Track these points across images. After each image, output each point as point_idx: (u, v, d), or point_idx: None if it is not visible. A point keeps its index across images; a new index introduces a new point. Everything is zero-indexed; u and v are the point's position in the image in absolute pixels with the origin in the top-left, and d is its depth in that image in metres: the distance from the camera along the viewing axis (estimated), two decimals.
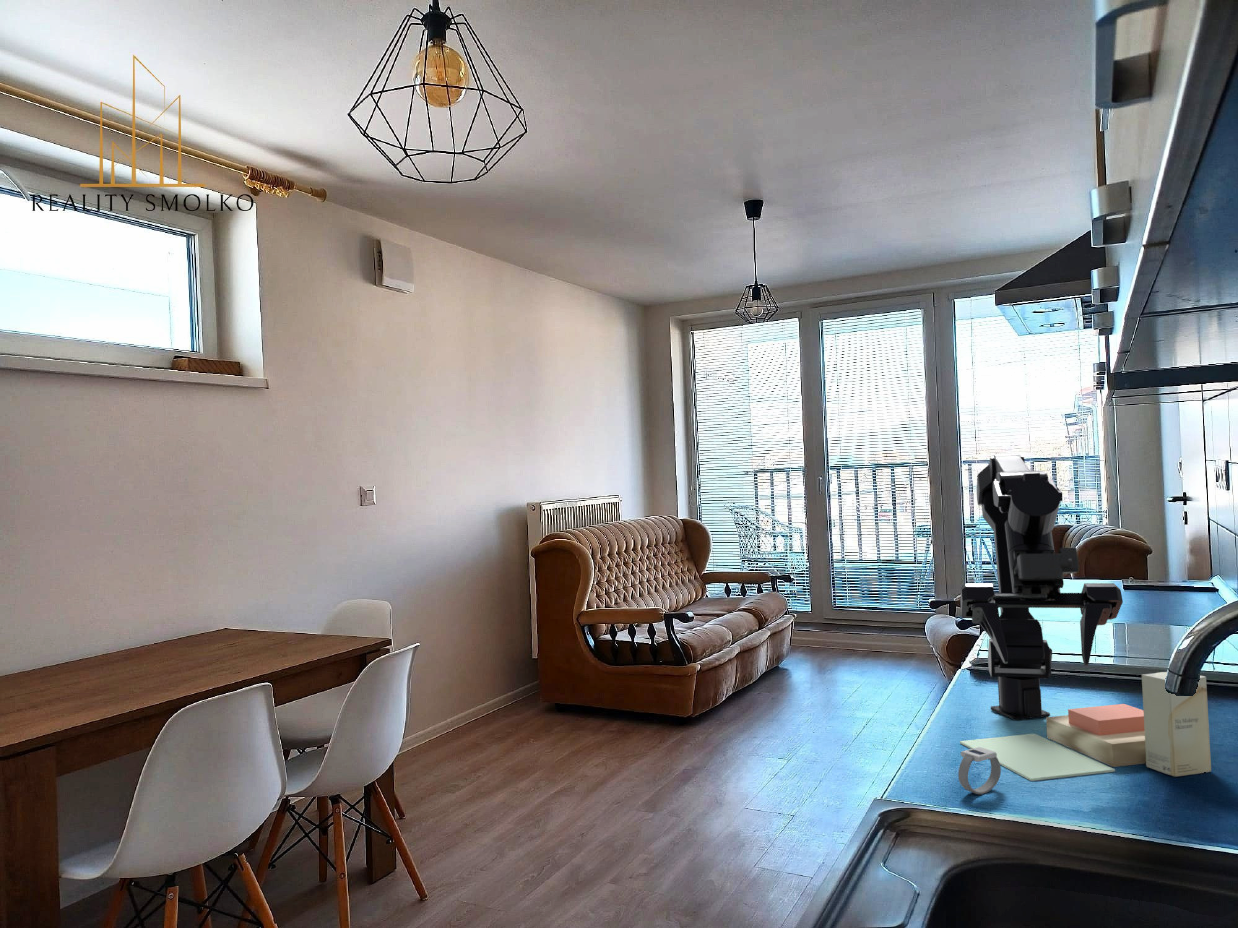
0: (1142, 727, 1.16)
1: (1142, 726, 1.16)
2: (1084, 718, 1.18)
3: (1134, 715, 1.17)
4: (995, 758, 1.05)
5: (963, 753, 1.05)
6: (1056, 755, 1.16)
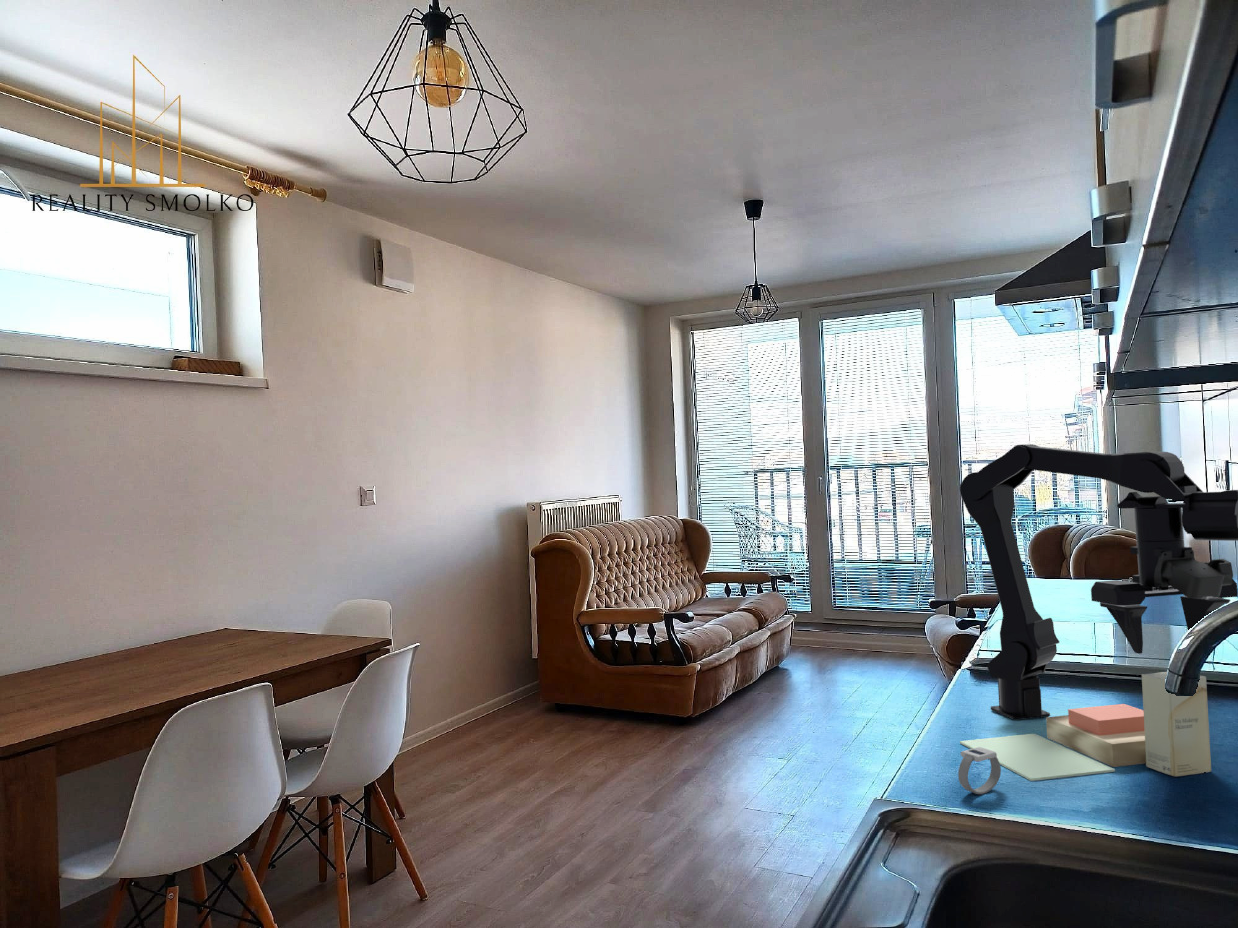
0: (1142, 727, 1.16)
1: (1142, 726, 1.16)
2: (1084, 718, 1.18)
3: (1134, 715, 1.17)
4: (995, 758, 1.05)
5: (963, 753, 1.05)
6: (1056, 755, 1.16)
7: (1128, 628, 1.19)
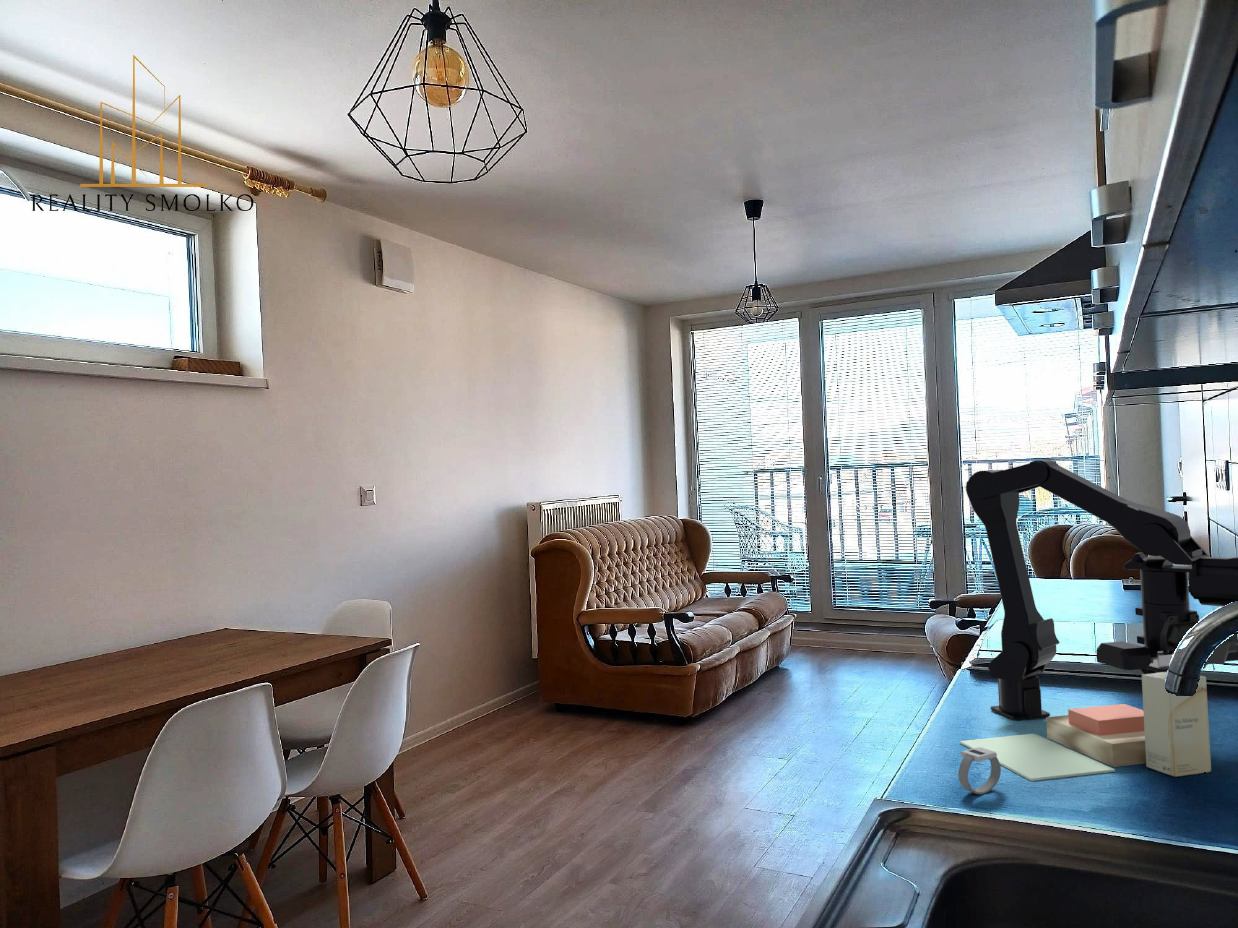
0: (1142, 727, 1.16)
1: (1142, 726, 1.16)
2: (1084, 718, 1.18)
3: (1134, 715, 1.17)
4: (995, 758, 1.05)
5: (963, 753, 1.05)
6: (1056, 755, 1.16)
7: None
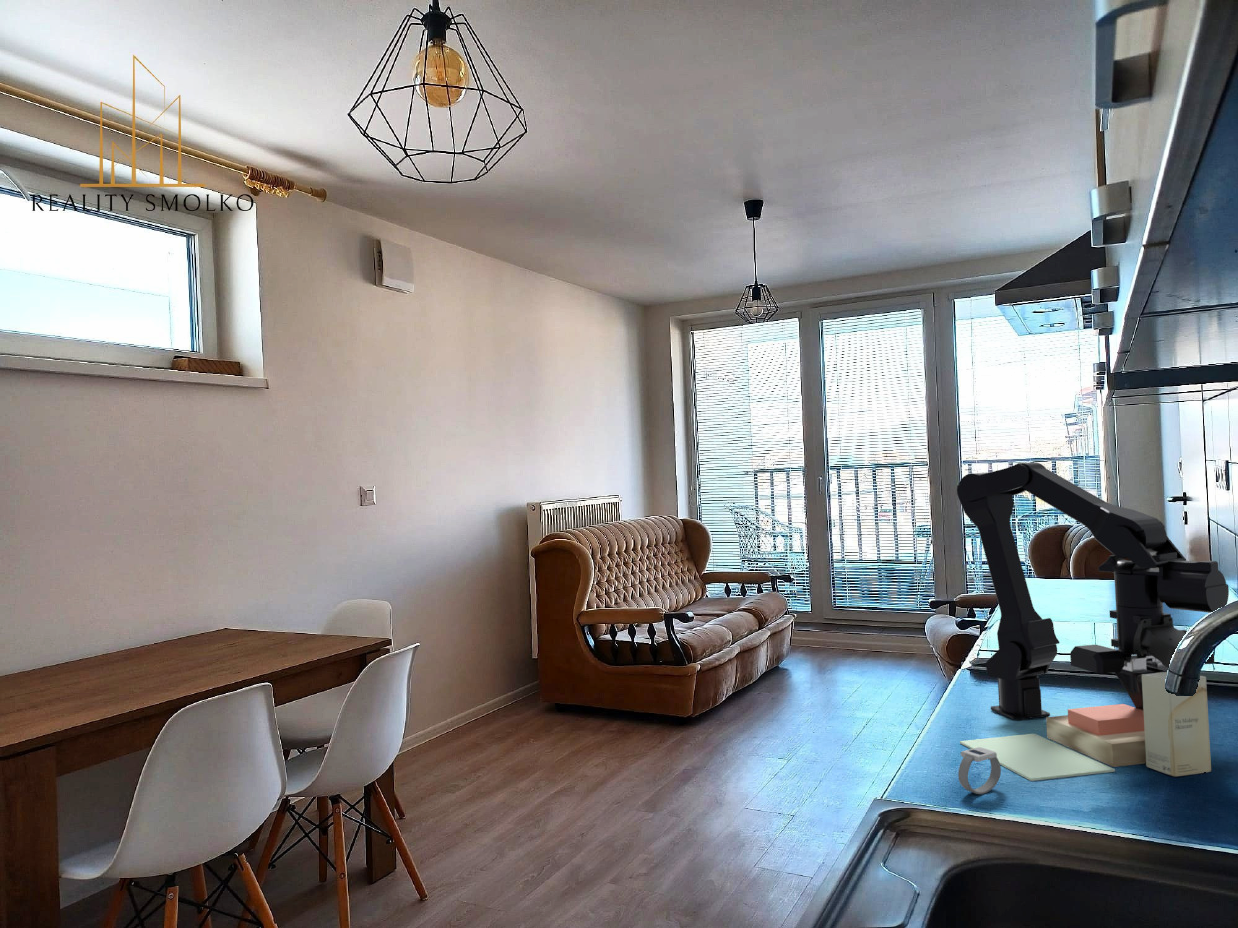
0: (1142, 727, 1.16)
1: (1142, 726, 1.16)
2: (1083, 718, 1.18)
3: (1134, 715, 1.17)
4: (995, 758, 1.05)
5: (963, 753, 1.05)
6: (1056, 755, 1.16)
7: (1134, 691, 1.19)
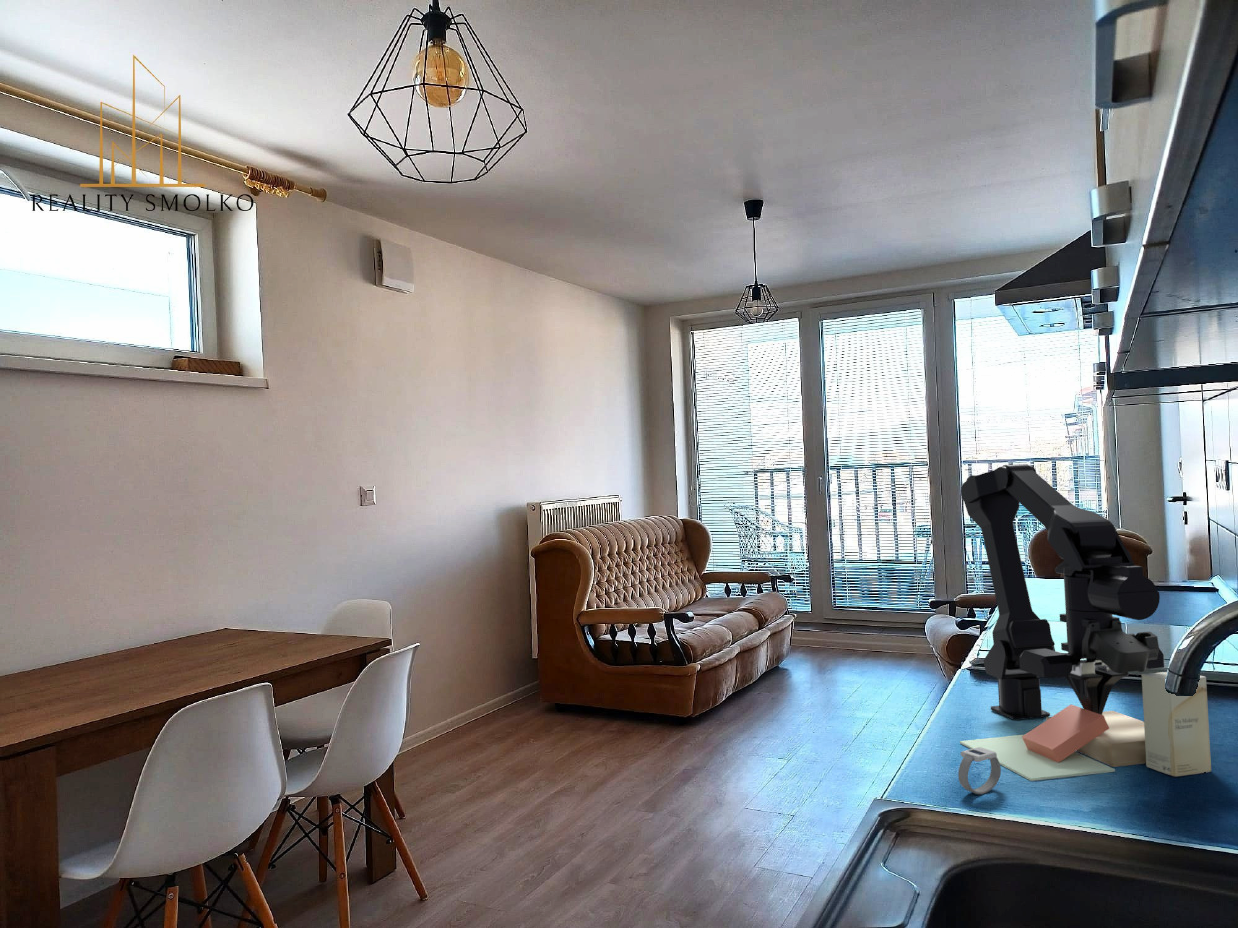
0: (1094, 734, 1.14)
1: (1094, 733, 1.14)
2: (1039, 746, 1.15)
3: (1083, 724, 1.15)
4: (995, 758, 1.05)
5: (963, 753, 1.05)
6: None
7: (1083, 696, 1.18)
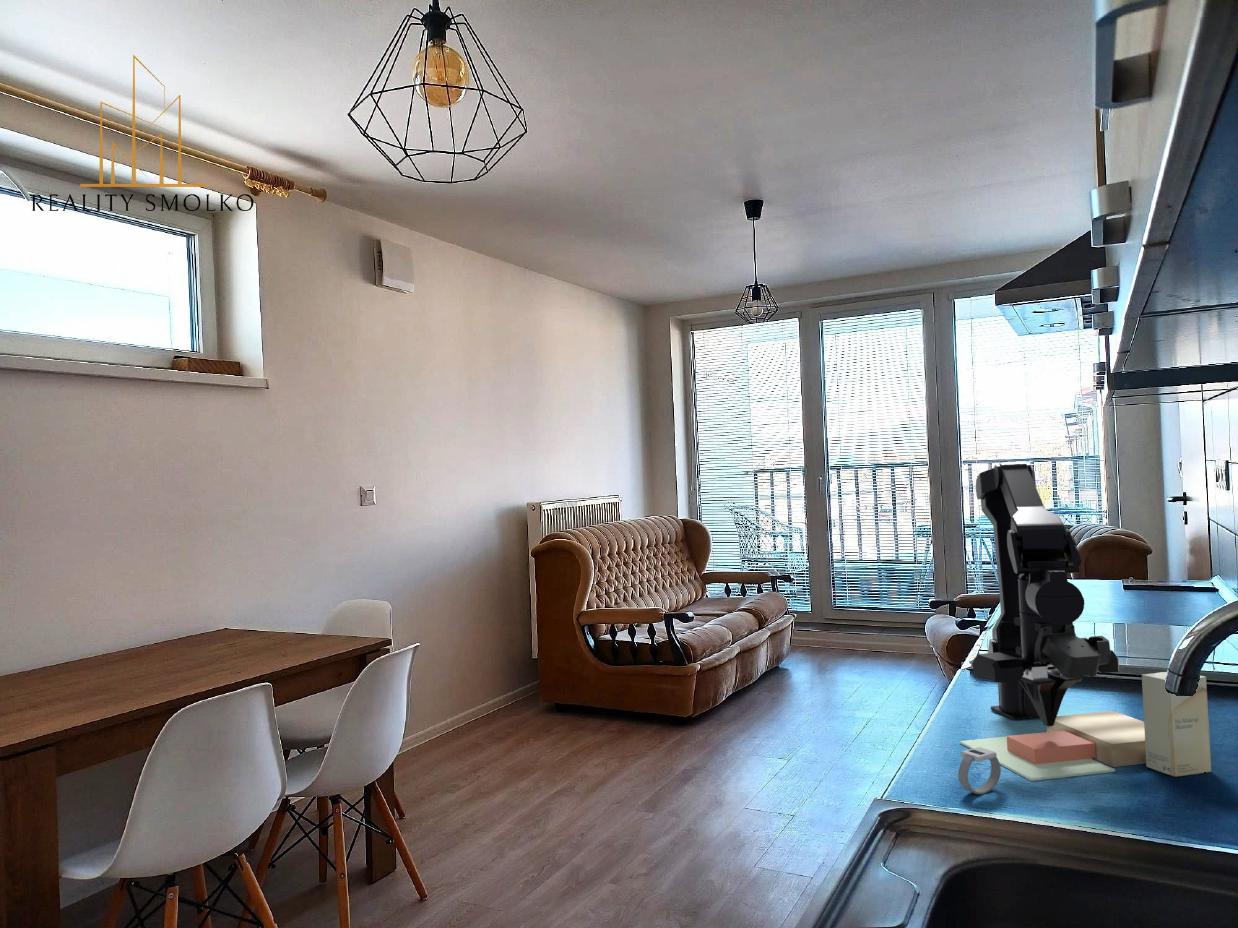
0: (1079, 755, 1.14)
1: (1079, 754, 1.14)
2: (1021, 746, 1.15)
3: (1072, 743, 1.14)
4: (995, 758, 1.05)
5: (963, 753, 1.05)
6: None
7: (1037, 700, 1.17)
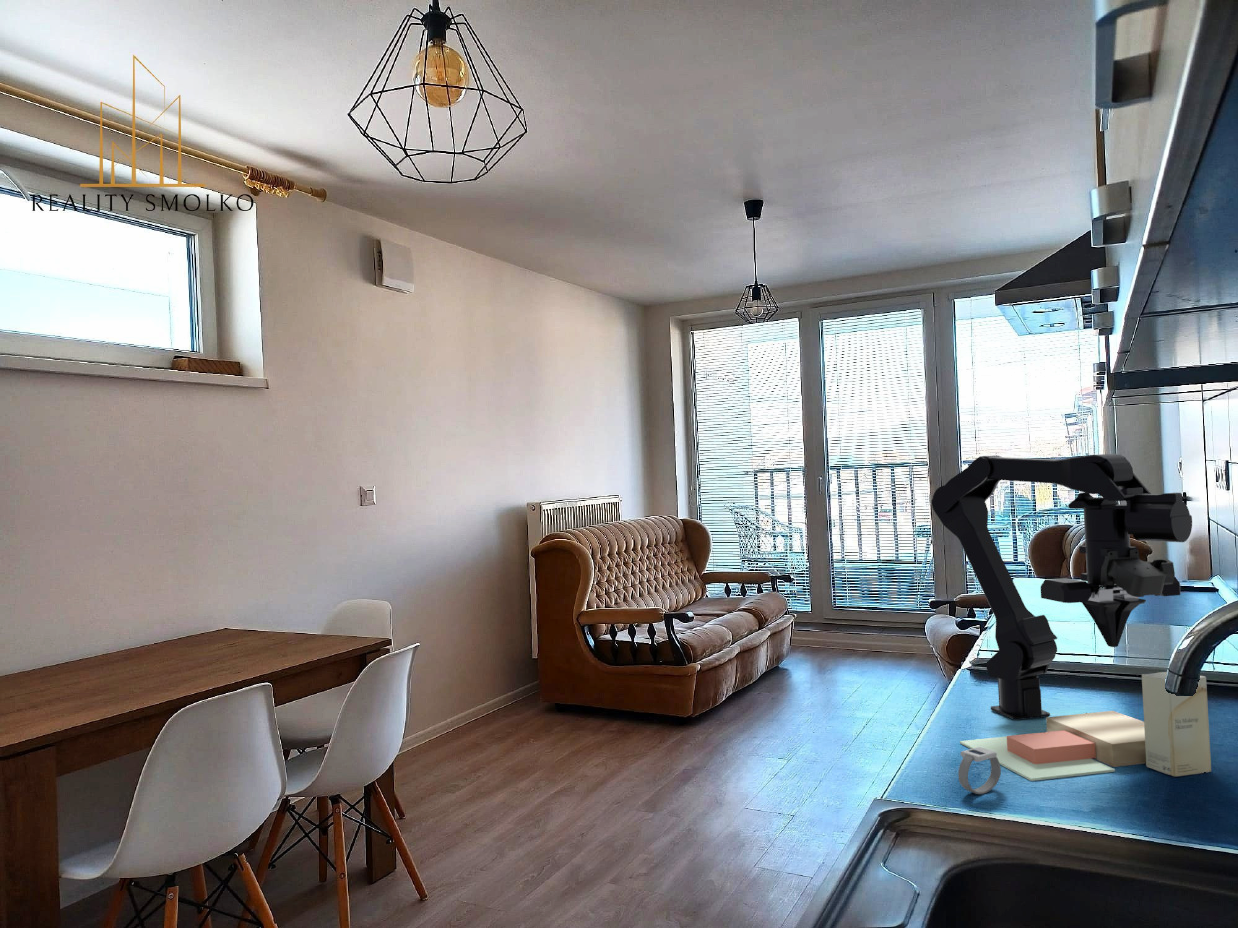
0: (1079, 755, 1.14)
1: (1079, 754, 1.14)
2: (1021, 746, 1.15)
3: (1072, 743, 1.14)
4: (995, 758, 1.05)
5: (963, 753, 1.05)
6: None
7: (1102, 622, 1.24)
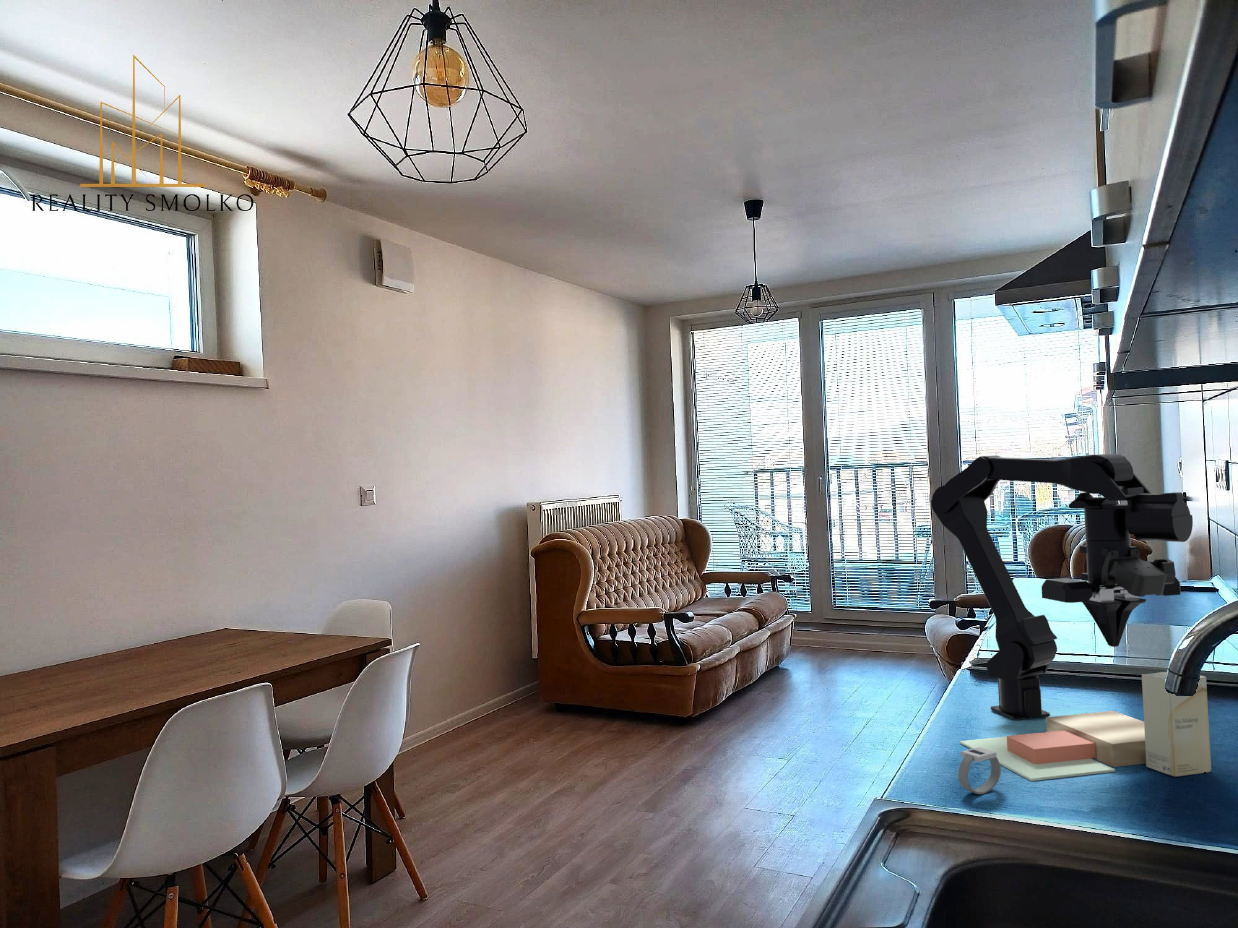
0: (1079, 755, 1.14)
1: (1079, 754, 1.14)
2: (1021, 746, 1.15)
3: (1072, 743, 1.14)
4: (995, 758, 1.05)
5: (963, 753, 1.05)
6: None
7: (1103, 622, 1.24)
